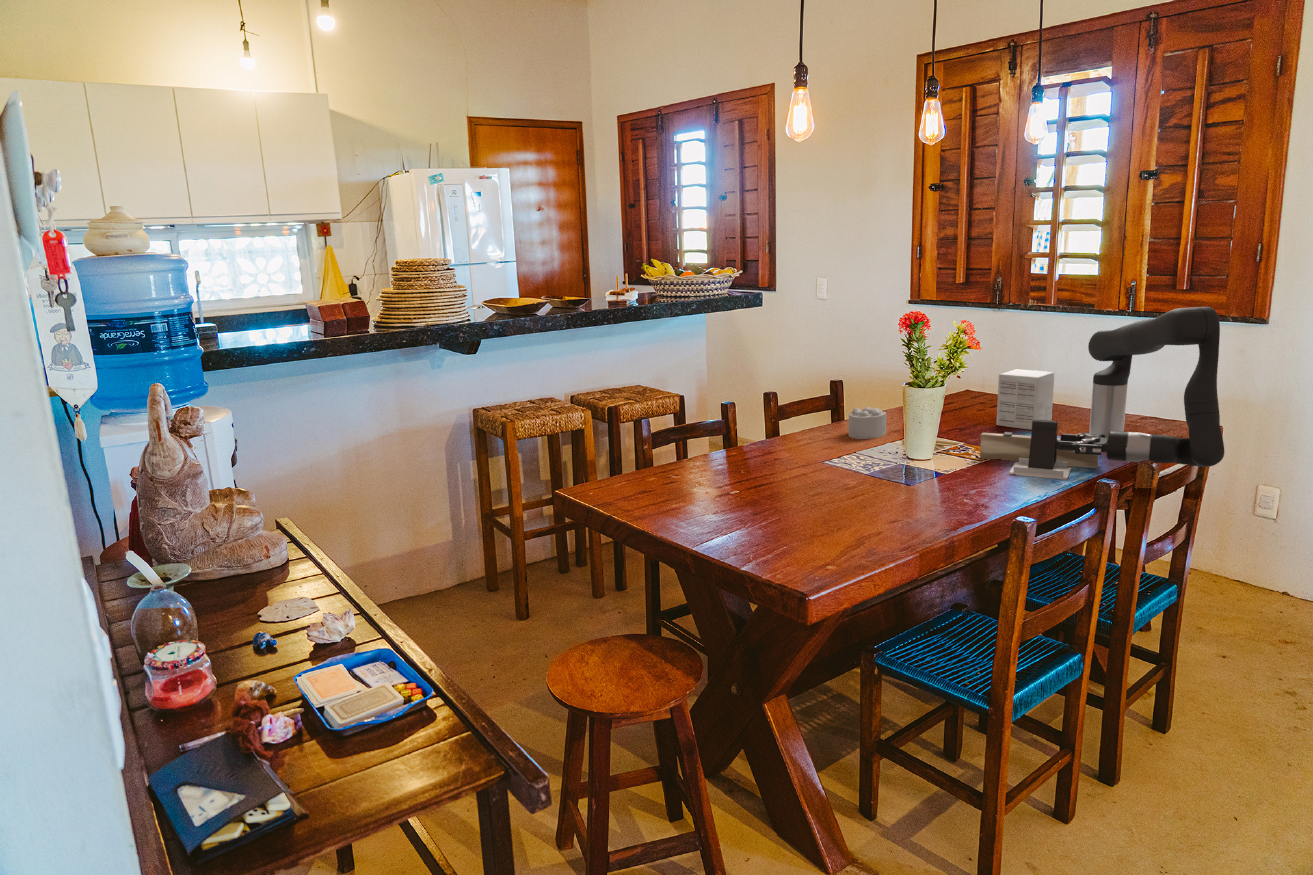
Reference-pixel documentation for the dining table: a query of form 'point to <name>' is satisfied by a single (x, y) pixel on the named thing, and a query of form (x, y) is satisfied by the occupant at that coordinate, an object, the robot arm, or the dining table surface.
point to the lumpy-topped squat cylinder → (867, 423)
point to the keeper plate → (1041, 470)
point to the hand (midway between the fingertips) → (1058, 441)
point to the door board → (1026, 450)
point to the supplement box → (1024, 398)
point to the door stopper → (1043, 444)
